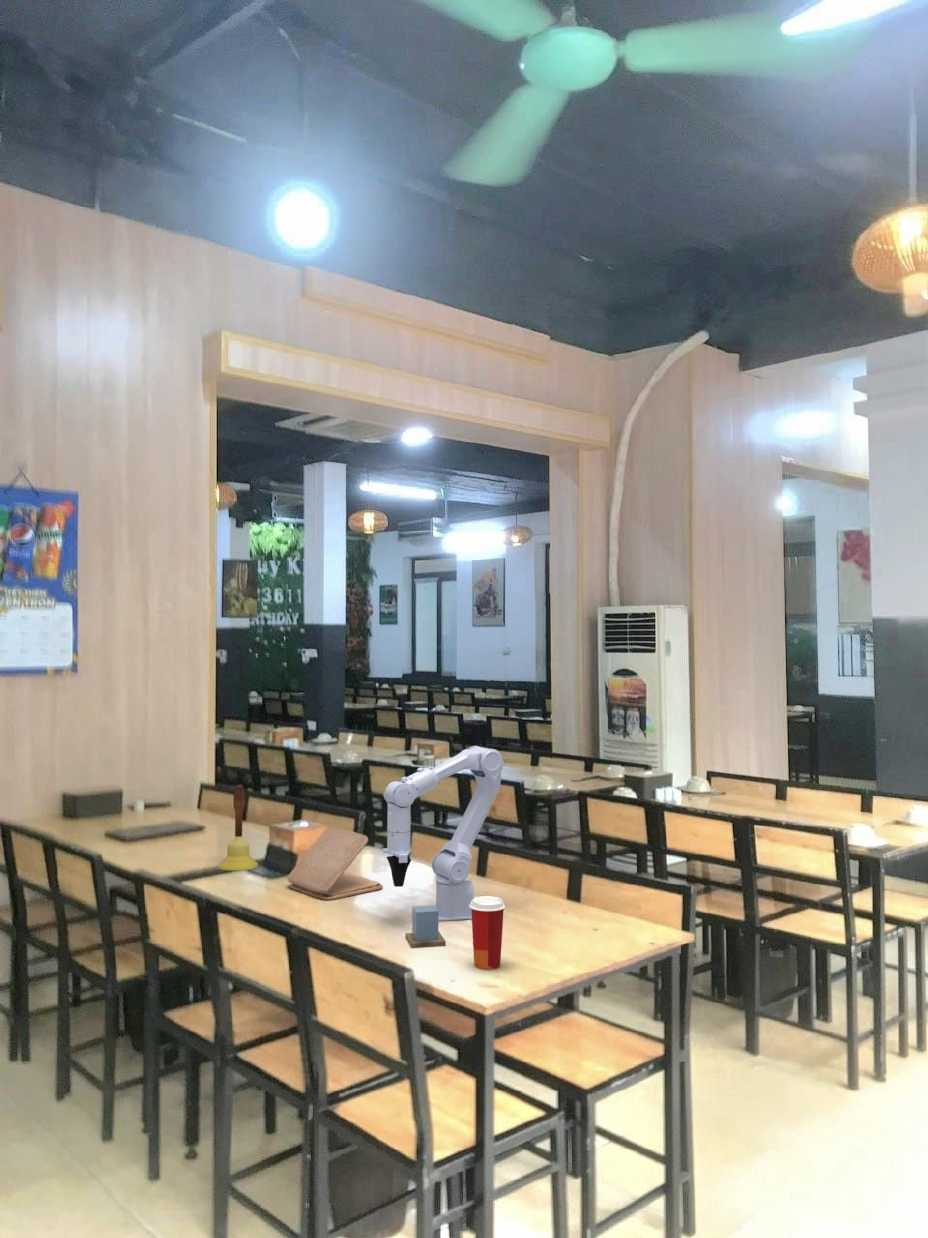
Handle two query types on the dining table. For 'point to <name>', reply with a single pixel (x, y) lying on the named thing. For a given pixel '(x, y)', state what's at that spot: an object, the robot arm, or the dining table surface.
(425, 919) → the blue-grey block
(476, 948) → the paper cup
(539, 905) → the dining table surface
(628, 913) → the dining table surface
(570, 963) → the dining table surface
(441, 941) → the board
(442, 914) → the robot arm
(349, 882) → the case
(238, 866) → the handbell
